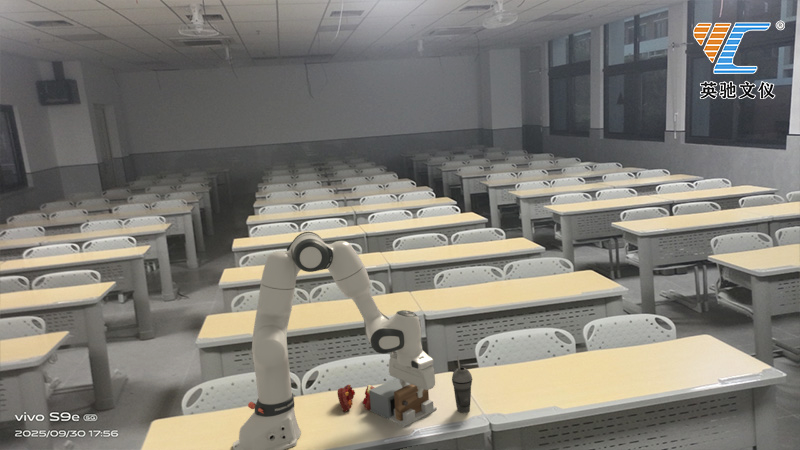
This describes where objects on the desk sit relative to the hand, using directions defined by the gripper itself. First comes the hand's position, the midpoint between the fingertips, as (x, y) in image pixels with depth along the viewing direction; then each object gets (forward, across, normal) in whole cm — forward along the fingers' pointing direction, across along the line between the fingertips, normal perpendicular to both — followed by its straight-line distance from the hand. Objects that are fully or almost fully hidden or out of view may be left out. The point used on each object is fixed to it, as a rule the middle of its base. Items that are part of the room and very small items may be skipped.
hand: (412, 394), depth 207 cm
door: (+7, 0, 0) cm, 7 cm away
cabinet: (+8, -5, 0) cm, 10 cm away
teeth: (+8, -22, -8) cm, 24 cm away
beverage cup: (+8, +11, +14) cm, 20 cm away
